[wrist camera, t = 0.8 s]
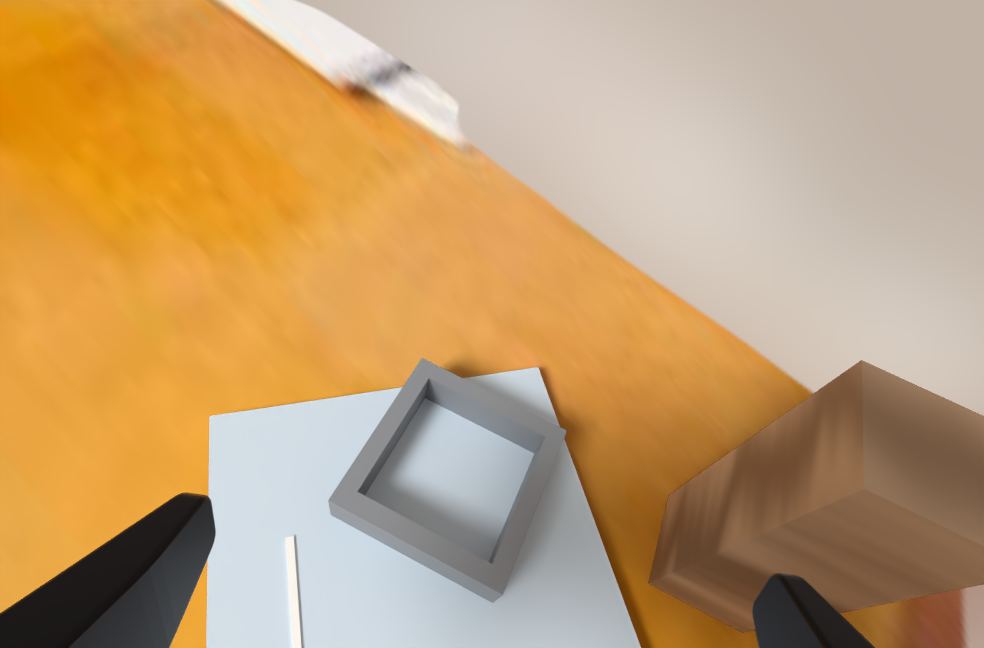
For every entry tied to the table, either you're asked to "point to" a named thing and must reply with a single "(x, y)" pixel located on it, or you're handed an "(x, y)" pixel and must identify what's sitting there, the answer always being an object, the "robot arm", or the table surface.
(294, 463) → the baseplate
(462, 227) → the table surface
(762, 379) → the table surface
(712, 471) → the pillar
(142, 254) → the table surface
